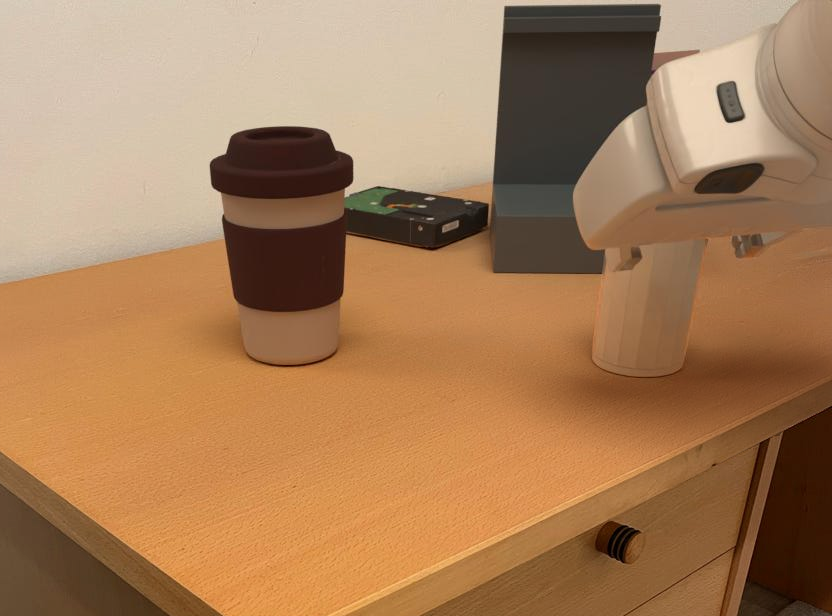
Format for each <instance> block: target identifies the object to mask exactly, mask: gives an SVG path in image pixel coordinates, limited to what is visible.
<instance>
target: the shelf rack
mask: <svg viewBox="0 0 832 616" xmlns="http://www.w3.org/2000/svg"><path fill="white" fill-rule="evenodd" d="M661 9H662V4H660V3H622V4H621V3H618V4H617V3H615V4H613V3H612V4H611V3H609V4H608V3H607V4H542V5H541V4H540V5H539V4H537V5H530V4H529V5H504V6H503V19H502V20H503V21H502V35H501V36H502V38H501V52H500V68H499V81H498V98H497V113H496V114H497V115H496V126H495V127H496V129H495V142H494V143H495V144H494V157H493V158H494V160H493V173H492V174H493V176H492V189H491V190H492V191H491V192H492V193H491V205H490V223H489V241H490V253H491V262H492V263H491V264H492V271H493V273H509V274H511V273H521V274H527V273H528V274H529V273H530V274H602V271H603V263H604V256H605V249H602V250H592V249H590V248H589V247H588V246H587V245H586V243H585V242H584V240H583V238H582V236H581V233H580V231H579V227H578V224H577V220H576V216H575V211H574V205H573V192H574V189H575V186H576V184H577V182H578V180H579V179H580V177H581V176H582V174H583V172H584V171H585V169H586V168H587V166H588V165H589V163H590V162H591V160H592V159H593V157H594V156H595V154H596V153H597V152H598V150H599V149H600V148H601V146H602V145H603V143H604V142H605V141H606V140H607V138H608V137H609V136H610V134H611V133H612V132H613V131H614V129H615V128H616V127H617V126H618V125H619V124H620V123H621V122H622V121H623V120H624V119H625V118H627V117H628V116H629V115H630V114H632V113H633V112H635V111H636V110H638V109H640V108H642V107H644V106H646V105H647V95H646V86H647V83H648V81H649V80H650V78H651V71H652V64H653V57H654V53H655V49H656V42H657V37H658V33H659V32H660V28H661V22H662V15H661Z"/></svg>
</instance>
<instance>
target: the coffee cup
mask: <svg viewBox="0 0 832 616" xmlns="http://www.w3.org/2000/svg"><path fill="white" fill-rule="evenodd" d="M209 176H210V186H211V187H212V189H213V190H215V191H217V192H219V193H220V197H221V203H222V209H223V214H222V215H221V224H222V230H223V237H224V243H225V249H226V256H227V264H228V268H229V276H230V282H231V283H230V284H231V289H232V294H233V298H234V300H235V301H236V303H237V309H238V315H239V323H240V328H241V335H242V341H243V342H242V343H243V347H244V350H245V352H246V353H247V354H248V356H249V357H251V358H252V359H254V360H256V361H258V362H262V363H265V364H272V365H279V366H283V365H284V366H296V365H304V364H310V363H311V364H313V363H314V362H318V361H322V360H324V359H326V358H329V357H330V356H331V355H333V354H334V353H335V352H336V350H337V349H338V346H339V341H340V317H341V316H340V315H341V299H342V297H343V295H344V290H345V289H344V288H345V272H346V271H345V270H346V269H345V267H346V249H347V248H346V246H347V233H346V226H347V213H346V211H345V210H344V200H345V197H346V189H347V188H349V187H350V186H351V185H352V184H353V182H354V159H353V156H351V155H350V154H348V153H346V152H344V151H340V150H336V147H335V145H334V142H333V139H332V137H331V134H330V133H329V132H328V131H326V130H324V129H320V128H317V127H310V126H298V125H297V126H296V125H294V126H293V125H281V126H280V125H277V126H264V127H254V128H249V129H244V130H241V131H237V132H235V133H233V134H232V135H231V136H230V137H229V141H228V145H227V148H226V152H225V153H224V154H221V155H218V156H216V157H215V158H213V159H212V160H211V161H210V162H209Z"/></svg>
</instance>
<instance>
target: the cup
mask: <svg viewBox="0 0 832 616" xmlns="http://www.w3.org/2000/svg"><path fill="white" fill-rule="evenodd" d="M708 243H709V239H701V240H691V241H681V242H670V243H660V244H650V245H641V246H639V248H640V250H641V254H642V257H643V258H642V259H641V260H640V262H639V263H638V264H636V265H634V268H633V269H632V270H626V271H617V272H610V271H609V268H608V264H607V261H606V257H605V256H604V263H603V271H602V273H601V278H600V285H599V293H598V302H597V309H596V314H595V315H596V316H595V323H594V332H593V339H592V345H591V350H592V351H591V361H592V362H593V364H594V365H596V366H597V367H598V368H600V369H602V370H605V371H607V372H609V373H613V374H616V375H621V376H626V377H627V376H628V377H636V378H657V377H663V376H664V377H665V376H668V375H671V374H675V373H677V372H678V371H680V370H681V369H682V368H683V366H684V363H685V358H686V357H687V351H688V345H689V340H690V335H691V330H692V325H693V320H694V315H695V309H696V305H697V299H698V296H699V295H698V294H699V288H700V283H701V279H702V274H703V268H704V263H705V258H706V253H707V248H708Z"/></svg>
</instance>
